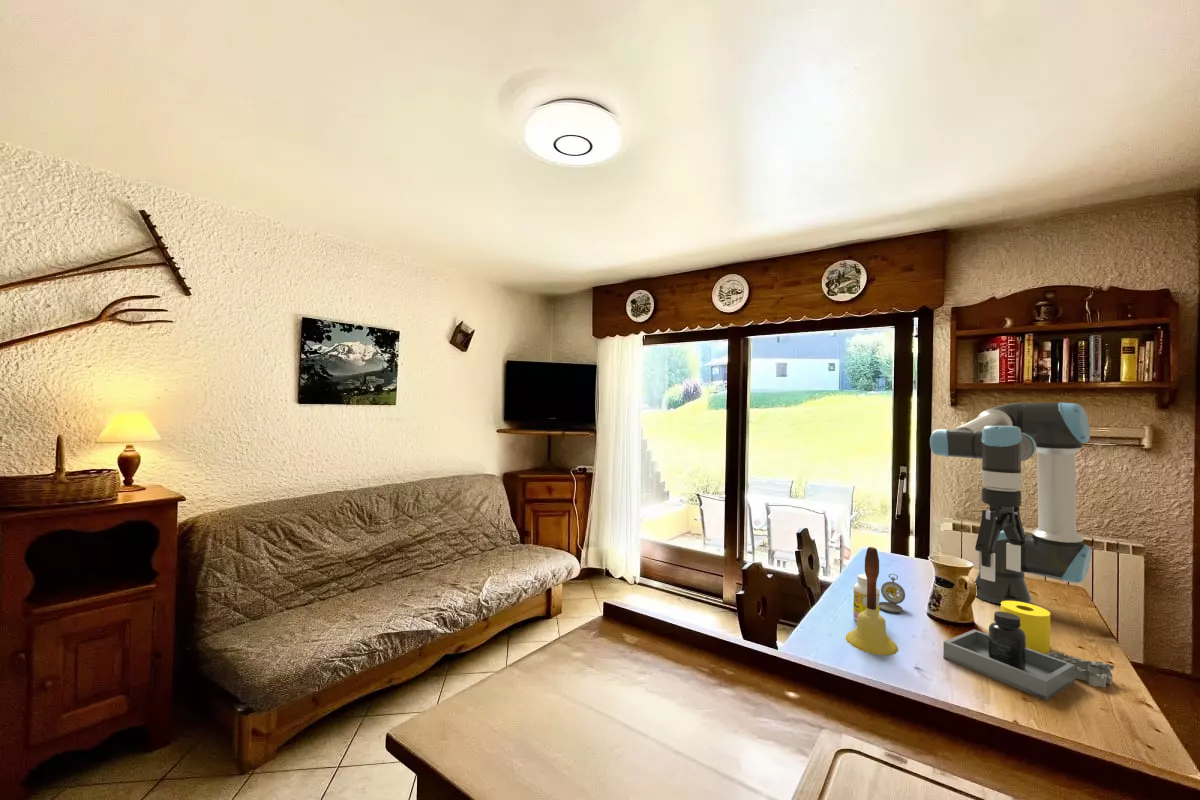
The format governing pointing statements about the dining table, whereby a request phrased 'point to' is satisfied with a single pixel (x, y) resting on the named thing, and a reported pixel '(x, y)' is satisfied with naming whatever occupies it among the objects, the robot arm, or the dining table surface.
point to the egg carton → (1088, 669)
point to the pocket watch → (892, 602)
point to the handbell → (871, 616)
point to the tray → (1037, 679)
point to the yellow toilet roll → (1031, 624)
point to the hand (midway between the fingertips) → (1000, 575)
